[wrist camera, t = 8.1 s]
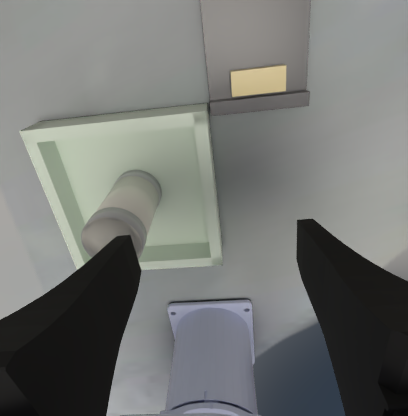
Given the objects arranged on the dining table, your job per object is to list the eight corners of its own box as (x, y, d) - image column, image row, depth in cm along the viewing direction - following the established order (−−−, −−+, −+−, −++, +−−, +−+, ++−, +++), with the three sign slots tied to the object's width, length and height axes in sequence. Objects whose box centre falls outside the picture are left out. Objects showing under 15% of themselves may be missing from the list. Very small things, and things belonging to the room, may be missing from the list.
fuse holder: (304, 101, 19) (308, 105, 18) (211, 112, 20) (211, 116, 19) (313, -102, 15) (321, -113, 14) (192, -82, 15) (190, -91, 14)
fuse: (164, 210, 23) (147, 266, 18) (120, 212, 24) (90, 268, 18) (158, 168, 22) (137, 214, 16) (110, 170, 22) (73, 218, 16)
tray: (222, 245, 25) (222, 265, 23) (90, 254, 26) (78, 273, 24) (207, 102, 20) (206, 111, 17) (40, 121, 21) (19, 131, 19)
